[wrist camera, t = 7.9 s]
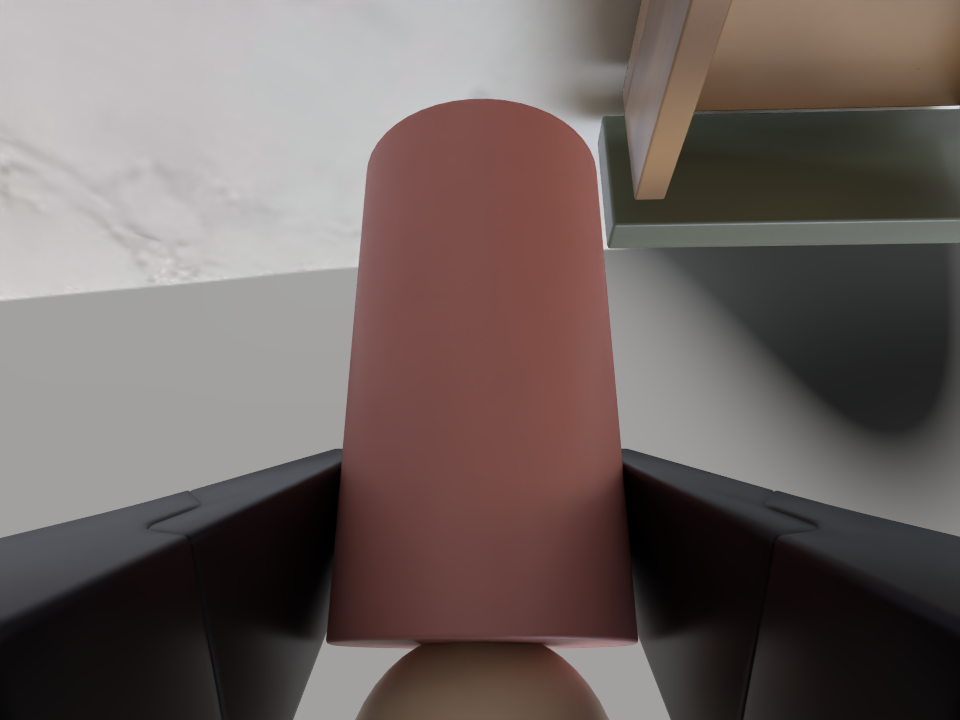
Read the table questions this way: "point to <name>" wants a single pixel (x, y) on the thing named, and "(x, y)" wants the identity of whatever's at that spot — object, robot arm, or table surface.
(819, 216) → the drawer
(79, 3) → the table surface
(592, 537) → the doll
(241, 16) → the table surface
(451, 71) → the table surface
